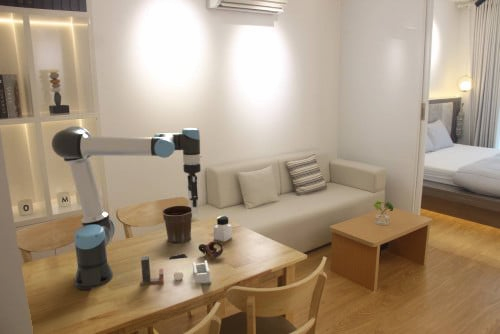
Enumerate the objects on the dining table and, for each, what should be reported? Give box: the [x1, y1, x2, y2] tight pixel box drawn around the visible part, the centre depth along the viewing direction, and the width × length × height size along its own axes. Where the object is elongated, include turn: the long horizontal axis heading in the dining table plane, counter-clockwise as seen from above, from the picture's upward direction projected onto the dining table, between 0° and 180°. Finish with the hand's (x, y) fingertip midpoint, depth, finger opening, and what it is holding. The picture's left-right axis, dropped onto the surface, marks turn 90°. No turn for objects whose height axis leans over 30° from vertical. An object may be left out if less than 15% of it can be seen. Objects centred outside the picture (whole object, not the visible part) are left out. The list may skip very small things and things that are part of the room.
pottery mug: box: [198, 240, 224, 261], centre depth 192 cm, size 12×10×8 cm
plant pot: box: [161, 205, 193, 244], centre depth 212 cm, size 16×16×16 cm
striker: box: [139, 256, 165, 286], centre depth 164 cm, size 9×5×11 cm, turn 102°
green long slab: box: [192, 260, 212, 286], centre depth 167 cm, size 31×10×6 cm, turn 102°
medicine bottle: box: [213, 215, 233, 243], centre depth 212 cm, size 7×7×12 cm
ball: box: [173, 270, 184, 281], centre depth 167 cm, size 4×4×4 cm
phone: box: [168, 253, 189, 260], centre depth 186 cm, size 8×1×15 cm
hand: (193, 208), depth 181 cm, fingers open, 13 cm apart
